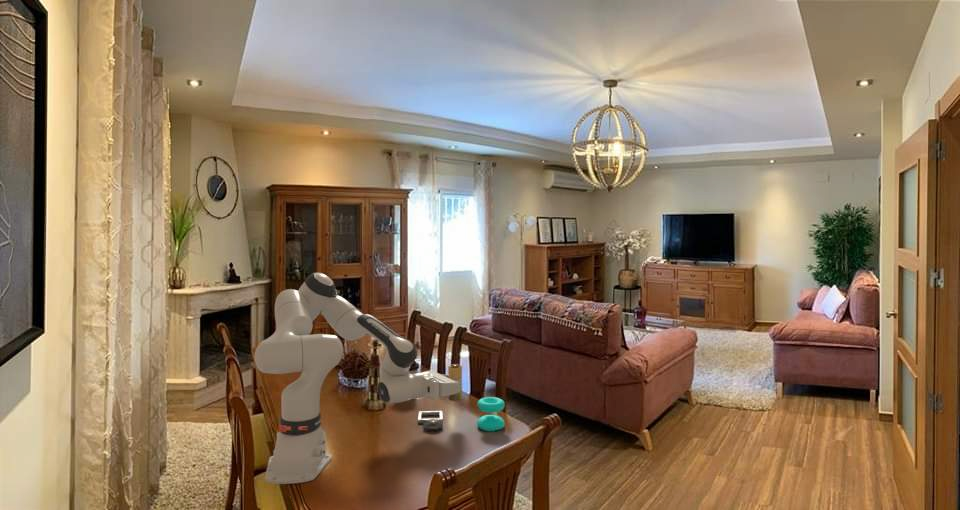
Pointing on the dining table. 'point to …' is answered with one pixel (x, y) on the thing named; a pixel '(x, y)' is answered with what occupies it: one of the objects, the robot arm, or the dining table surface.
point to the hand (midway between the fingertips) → (456, 378)
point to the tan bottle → (454, 374)
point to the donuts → (491, 407)
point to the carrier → (433, 425)
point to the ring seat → (426, 413)
